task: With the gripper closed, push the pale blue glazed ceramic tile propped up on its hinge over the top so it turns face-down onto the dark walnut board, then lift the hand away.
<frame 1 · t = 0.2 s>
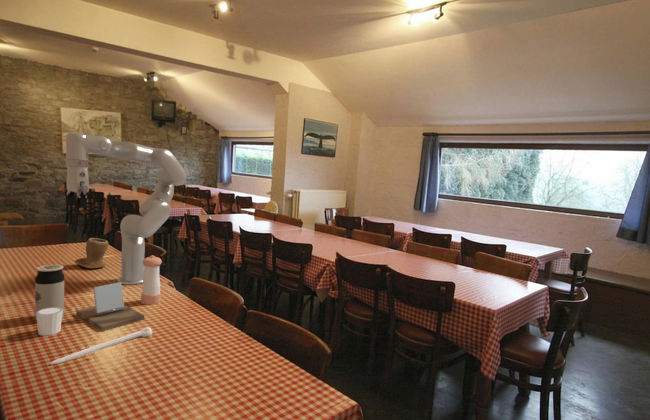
hand: (76, 206, 147), 36 cm above the table, tool pointing down, fingers open, 9 cm apart
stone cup: (93, 266, 189), on the table
white nail: (107, 349, 108), on the table
tile: (109, 298, 130), point 6 cm above the table, hinge at 75.0°
travel mug: (49, 318, 125), on the table
salt shaker: (150, 301, 147), on the table
board: (110, 316, 130), on the table
white cup: (49, 332, 115), on the table
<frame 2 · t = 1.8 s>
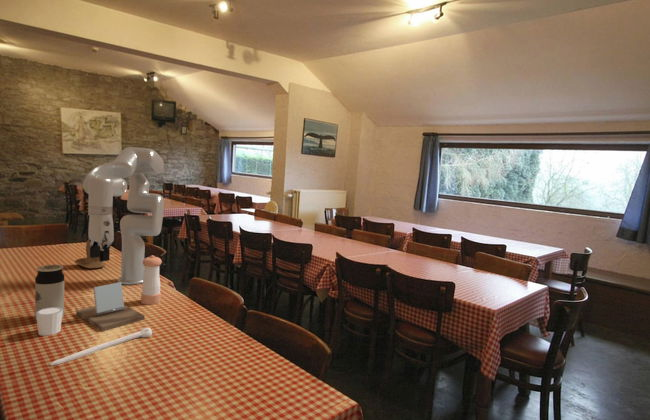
hand: (99, 258, 133), 20 cm above the table, tool pointing down, fingers open, 6 cm apart
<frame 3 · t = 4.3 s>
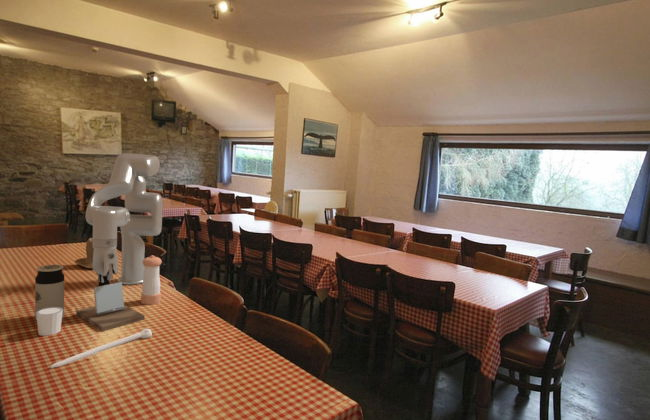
hand: (103, 292, 132), 8 cm above the table, tool pointing down, fingers closed
tile: (109, 298, 130), point 7 cm above the table, hinge at 76.9°, touching gripper
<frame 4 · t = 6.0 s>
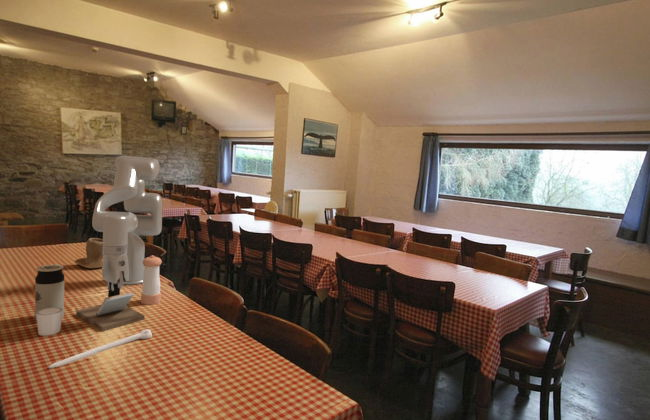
hand: (113, 300, 127), 7 cm above the table, tool pointing down, fingers closed
tile: (114, 304, 128), point 6 cm above the table, hinge at 131.9°, touching gripper
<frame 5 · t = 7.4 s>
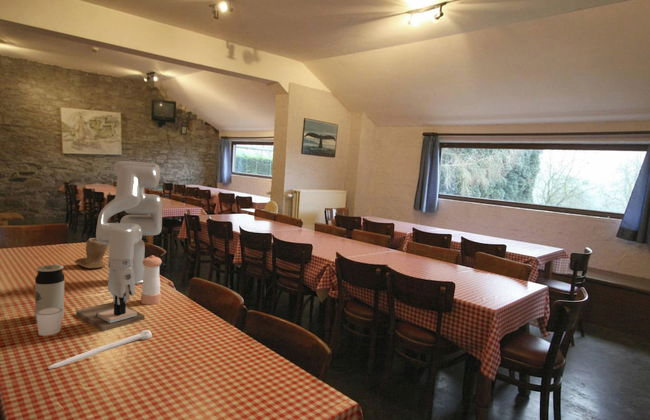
hand: (119, 314, 125), 3 cm above the table, tool pointing down, fingers closed
tile: (116, 314, 127), point 2 cm above the table, hinge at 178.0°, touching gripper
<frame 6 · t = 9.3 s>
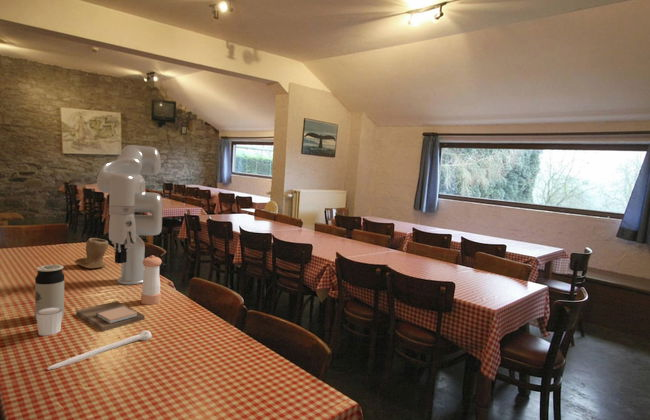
hand: (120, 262, 125), 21 cm above the table, tool pointing down, fingers closed
tile: (116, 314, 127), point 2 cm above the table, hinge at 178.5°
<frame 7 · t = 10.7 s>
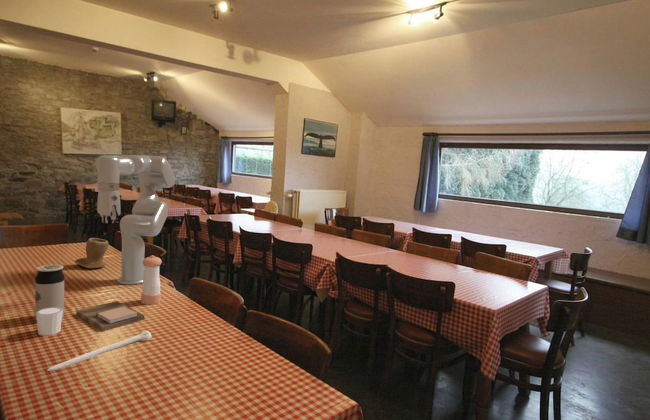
hand: (107, 232, 146), 27 cm above the table, tool pointing down, fingers closed
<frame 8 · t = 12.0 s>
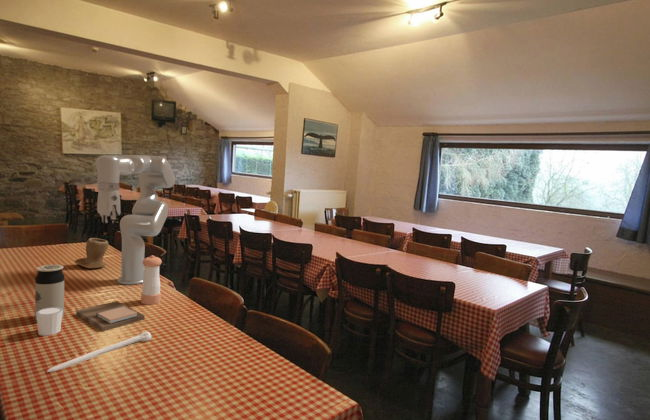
hand: (107, 232, 146), 27 cm above the table, tool pointing down, fingers closed
at the end: tile at +178° (first picture: +75°) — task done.
